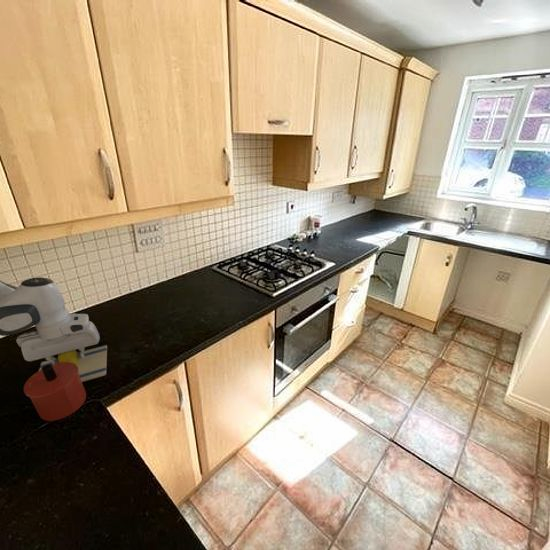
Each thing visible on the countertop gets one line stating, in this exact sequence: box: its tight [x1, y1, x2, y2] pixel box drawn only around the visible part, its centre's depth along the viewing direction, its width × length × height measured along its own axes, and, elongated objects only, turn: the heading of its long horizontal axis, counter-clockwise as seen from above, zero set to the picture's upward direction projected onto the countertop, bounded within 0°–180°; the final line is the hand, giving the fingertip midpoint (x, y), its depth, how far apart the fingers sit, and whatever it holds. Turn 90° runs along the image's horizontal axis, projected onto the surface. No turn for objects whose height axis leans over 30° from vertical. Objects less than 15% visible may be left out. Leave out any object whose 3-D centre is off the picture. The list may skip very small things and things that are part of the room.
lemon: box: [57, 350, 79, 365], centre depth 98 cm, size 6×6×8 cm
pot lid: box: [23, 362, 78, 398], centre depth 83 cm, size 13×13×5 cm
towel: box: [38, 344, 108, 383], centre depth 100 cm, size 20×16×1 cm
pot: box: [29, 374, 87, 422], centre depth 86 cm, size 12×12×10 cm
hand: (69, 360), depth 99 cm, fingers closed on lemon, 5 cm apart
